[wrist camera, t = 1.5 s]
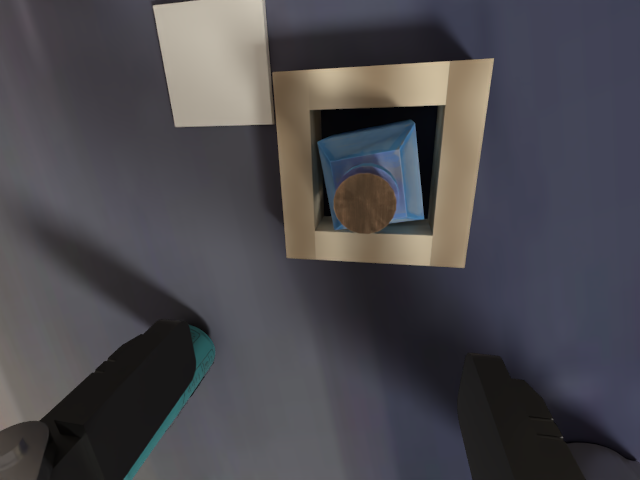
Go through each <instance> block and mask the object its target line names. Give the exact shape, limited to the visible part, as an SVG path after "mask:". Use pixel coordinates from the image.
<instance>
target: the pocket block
mask: <svg viewBox="0 0 640 480" xmlns="http://www.w3.org/2000/svg"><path fill="white" fill-rule="evenodd" d="M493 61H494V58H492V59H476V60H460V61H444V62H428V63H411V64H395V65H379V66H363V67H346V68H330V69H314V70H298V71H282V72H272V75H273V88H274V101H275V113H276V126H277V139H278V152H279V164H280V177H281V190H282V203H283V216H284V228H285V241H286V254H287V258H296V259H314V260H332V261H350V262H368V263H386V264H403V265H421V266H439V267H457V268H464V267H465V260H466V252H467V245H468V238H469V231H470V224H471V217H472V210H473V203H474V196H475V189H476V182H477V175H478V168H479V160H480V153H481V146H482V139H483V132H484V125H485V118H486V111H487V104H488V97H489V90H490V83H491V76H492V68H493ZM432 105H438V109H437V120H436V131H435V143H434V154H433V165H432V176H431V187H430V198H429V209H428V219H422V220H414V221H405V222H397V223H389V224H388V225H387V226H386V227H384V228H383V229H381V230H380V231H378V232H374V233H371V234H359V233H356V232H353V231H350V230H349V229H339V230H334V226H333V221H332V216H324V196H323V169H322V164H321V159H320V154H319V148H318V143H317V142H318V141H320V140H322V131H321V110H323V109H350V108H378V107H405V106H432Z"/></svg>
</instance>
